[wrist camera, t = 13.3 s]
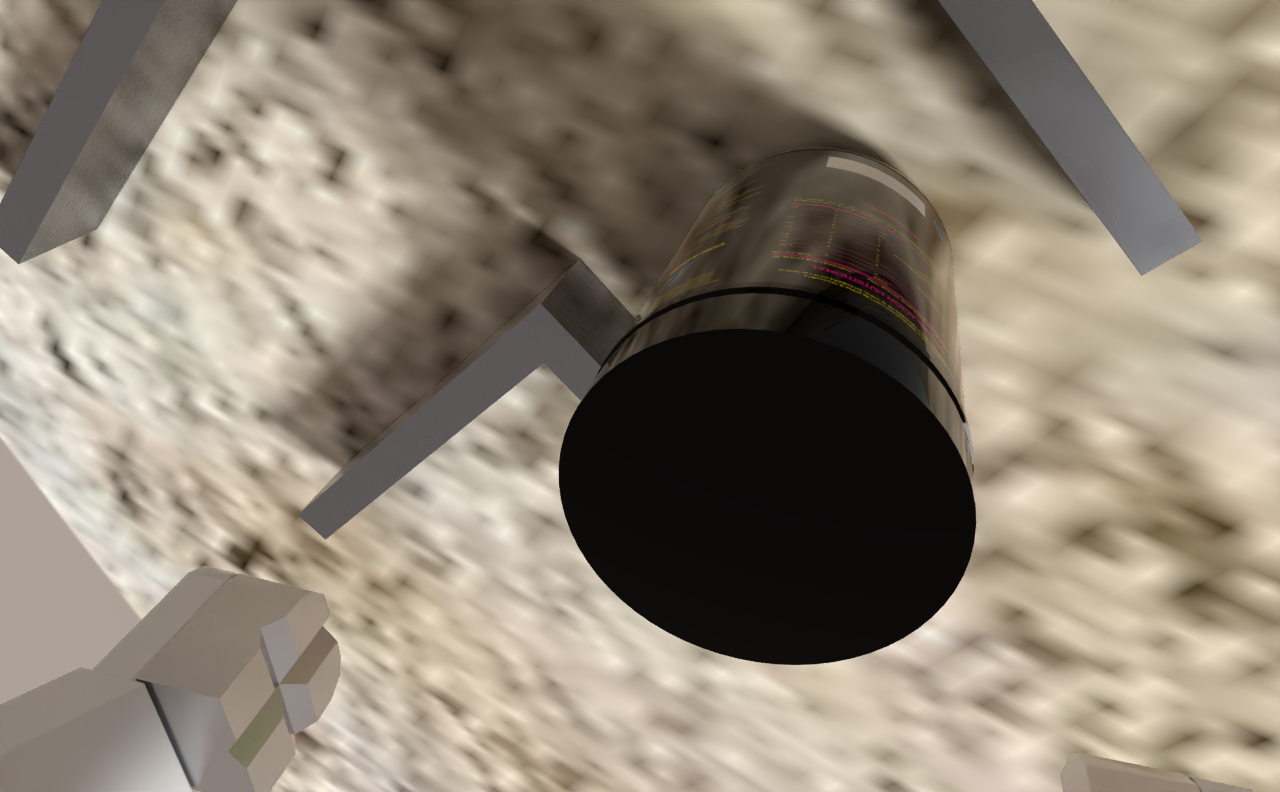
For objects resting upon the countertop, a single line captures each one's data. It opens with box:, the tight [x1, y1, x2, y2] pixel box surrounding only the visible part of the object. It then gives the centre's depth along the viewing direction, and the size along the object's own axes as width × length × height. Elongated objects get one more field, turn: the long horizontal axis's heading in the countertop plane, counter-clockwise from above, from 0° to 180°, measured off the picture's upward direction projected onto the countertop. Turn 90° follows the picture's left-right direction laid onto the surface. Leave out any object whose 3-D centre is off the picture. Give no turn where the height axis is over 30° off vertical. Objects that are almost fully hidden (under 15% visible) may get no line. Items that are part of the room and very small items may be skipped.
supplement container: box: [559, 147, 976, 665], centre depth 18 cm, size 7×7×10 cm
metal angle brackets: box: [0, 0, 1202, 539], centre depth 23 cm, size 20×25×3 cm
